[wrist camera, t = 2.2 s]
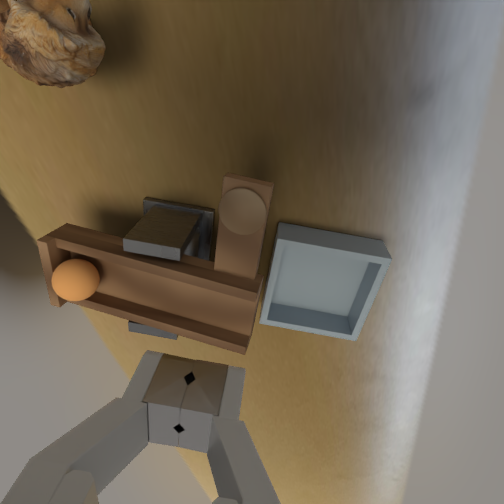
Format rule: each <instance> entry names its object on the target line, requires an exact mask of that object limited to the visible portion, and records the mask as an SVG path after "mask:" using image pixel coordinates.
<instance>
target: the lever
mask: <svg viewBox="0 0 504 504" xmlns="http://www.w3.org/2000/svg"><path fill="white" fill-rule="evenodd" d="M273 188H274V183H271V182H267V181H263V180H258V179H254V178H249V177H245V176H241V175H236V174H232V173H227V174H226V175H225V176H224V179H223V188H222V197H221V201H220V203H219V226H218V235H217V244H216V254H215V262H211V261H208V260H204V259H200V258H196V257H192V256H189V255H185V254H183V256H182V258H181V260H180V261H177V260H171V259H166V258H160V257H155V256H149V255H144V254H138V253H133V252H128V251H124V248H123V238H121V237H117V236H113V235H110V234H106V233H102V232H98V231H95V230H91V229H87V228H83V227H80V226H76V225H72V224H68V223H66V224H65V225H63V226H61V227H59V228H58V229H56V230H54V231H52V232H50V233H49V234H47V235H45V236H43V237H42V238H40V239H38V240H37V244H38V248H39V253H40V257H41V262H42V266H43V271H44V275H45V280H46V284H47V289H48V293H49V298H50V302H51V305H54V306H57V307H61V306H62V305H63V304H65V303H66V302H70V303H74V304H77V305H80V306H84V307H87V308H90V309H94V310H97V311H100V312H104V313H107V314H110V315H114V316H117V317H120V318H124V319H127V320H130V321H134V322H137V323H140V324H144V325H147V326H150V327H154V328H157V329H160V330H164V331H167V332H170V333H173V334H177V335H180V336H183V337H187V338H190V339H193V340H197V341H200V342H203V343H207V344H210V345H213V346H217V347H220V348H223V349H227V350H230V351H233V352H237V353H240V354H243V355H245V353H246V350H247V347H248V344H249V341H250V338H251V336H252V331H253V326H254V321H255V317H256V312H257V307H258V302H259V297H260V292H261V287H262V282H263V278H264V275H260V274H257V271H258V266H259V261H260V256H261V251H262V245H263V240H264V235H265V230H266V224H267V219H268V214H269V209H270V203H271V198H272V193H273ZM70 259H83V260H86V261H88V262H90V263H92V264H93V265H94V266H95V267H96V269H97V270H98V273H99V277H100V281H99V286H98V288H97V290H96V291H95V292H94V294H92V295H91V296H90V297H88V298H87V299H84V300H81V301H68V300H65V299H63V298H61V297H60V296H58V295H57V294H56V292H55V291H54V289H53V287H52V282H51V281H52V275H53V272H54V270H55V269H56V268H57V267H58V266H59V265H60V264H61V263H63V262H64V261H67V260H70Z"/></svg>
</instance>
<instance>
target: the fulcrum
mask: <svg viewBox="0 0 504 504" xmlns="http://www.w3.org/2000/svg"><path fill="white" fill-rule="evenodd" d="M143 205H144V216H143V217H142V218H141V220H140V221H139V222H138V223H137V224H136V225H135V226H134V227H133V228H132V229H131V230H130V231H129V232H128V233H127V235H126V236H125V237H124V238H123V248H124V251H128V252H133V253H138V254H144V255H149V256H155V257H160V258H166V259H171V260H177V261H180V260H181V258H182V256H183V254H185V255H189V256H192V257H196V258H200V259H204V260H208V261H210V253H211V243H212V232H213V222H214V212H215V209H209V208H204V207H198V206H193V205H187V204H182V203H176V202H170V201H165V200H159V199H154V198H148V197H146V198H145V199H144V200H143ZM128 326H129V331H131V332H137V333H142V334H148V335H153V336H158V337H164V338H169V339H175V340H177V338H178V335H177V334H173V333H170V332H167V331H164V330H160V329H157V328H154V327H150V326H147V325H144V324H140V323H137V322H134V321H130V320H129V322H128Z"/></svg>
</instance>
